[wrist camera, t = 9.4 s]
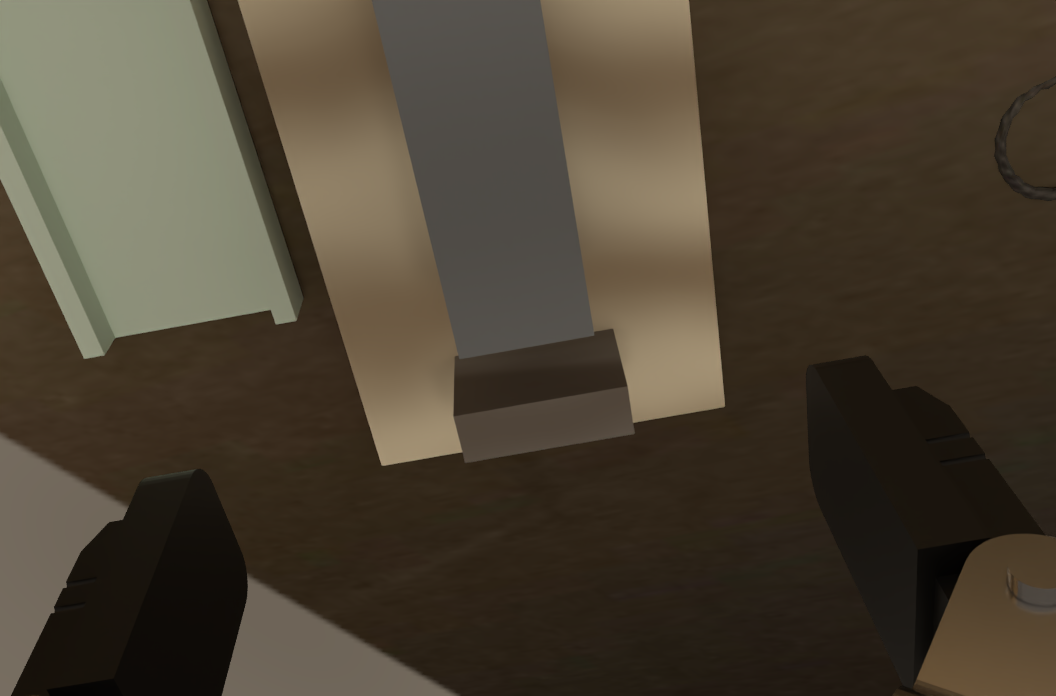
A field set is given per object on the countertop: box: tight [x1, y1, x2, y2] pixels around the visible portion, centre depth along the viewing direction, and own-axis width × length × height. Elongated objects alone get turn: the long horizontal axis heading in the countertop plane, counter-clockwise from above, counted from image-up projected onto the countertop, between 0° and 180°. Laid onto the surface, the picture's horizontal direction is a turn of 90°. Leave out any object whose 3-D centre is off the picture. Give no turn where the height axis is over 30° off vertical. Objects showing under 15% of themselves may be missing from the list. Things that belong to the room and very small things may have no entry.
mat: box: [0, 0, 303, 359], centre depth 26 cm, size 13×6×1 cm, turn 10°
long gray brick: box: [372, 0, 595, 359], centre depth 24 cm, size 10×3×4 cm, turn 10°
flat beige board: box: [238, 0, 725, 466], centre depth 25 cm, size 23×11×4 cm, turn 10°
